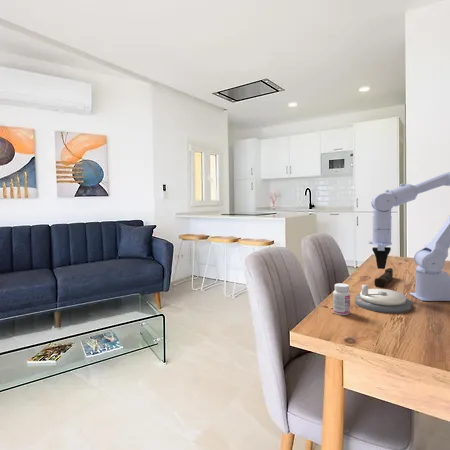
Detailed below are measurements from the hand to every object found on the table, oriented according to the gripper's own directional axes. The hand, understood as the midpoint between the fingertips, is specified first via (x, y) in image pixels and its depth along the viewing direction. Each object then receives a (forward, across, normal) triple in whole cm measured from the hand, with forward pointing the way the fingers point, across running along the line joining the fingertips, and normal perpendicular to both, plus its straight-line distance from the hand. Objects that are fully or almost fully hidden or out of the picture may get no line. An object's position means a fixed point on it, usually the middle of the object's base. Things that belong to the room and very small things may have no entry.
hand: (381, 268), depth 111 cm
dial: (+8, +10, +1) cm, 13 cm away
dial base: (+9, +10, +1) cm, 14 cm away
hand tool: (+10, -19, +1) cm, 22 cm away
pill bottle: (+10, +23, -10) cm, 27 cm away
